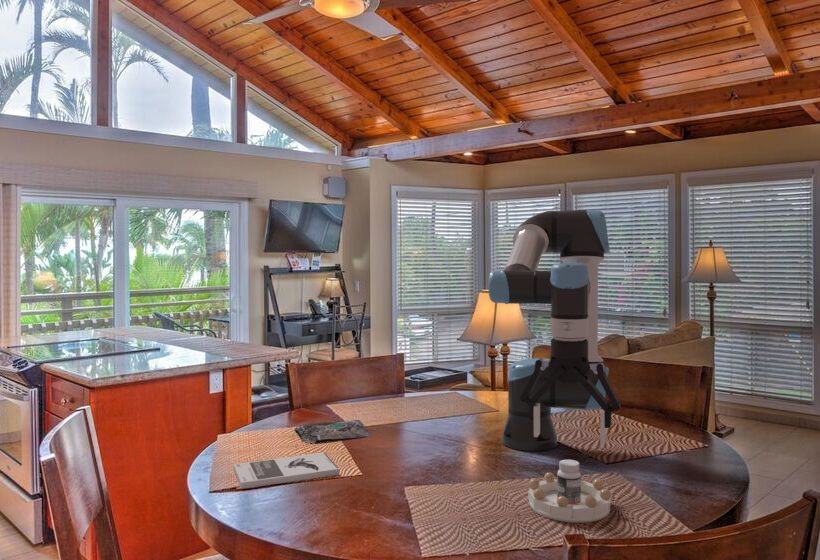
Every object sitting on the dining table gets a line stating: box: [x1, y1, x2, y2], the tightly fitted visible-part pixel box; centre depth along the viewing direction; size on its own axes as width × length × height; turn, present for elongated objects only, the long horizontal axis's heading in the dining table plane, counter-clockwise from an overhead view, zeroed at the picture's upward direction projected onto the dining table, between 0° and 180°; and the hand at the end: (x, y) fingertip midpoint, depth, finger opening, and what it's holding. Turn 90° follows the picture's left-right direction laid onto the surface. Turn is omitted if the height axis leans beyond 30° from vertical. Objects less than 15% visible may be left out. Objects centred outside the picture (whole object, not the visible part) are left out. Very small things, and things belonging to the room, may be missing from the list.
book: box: [232, 452, 340, 490], centre depth 154 cm, size 23×14×2 cm, turn 113°
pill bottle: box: [556, 459, 582, 506], centre depth 132 cm, size 5×5×8 cm
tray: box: [527, 472, 612, 524], centre depth 132 cm, size 17×17×5 cm
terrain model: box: [294, 419, 372, 445], centre depth 187 cm, size 20×15×3 cm
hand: (569, 439), depth 132 cm, fingers open, 13 cm apart
